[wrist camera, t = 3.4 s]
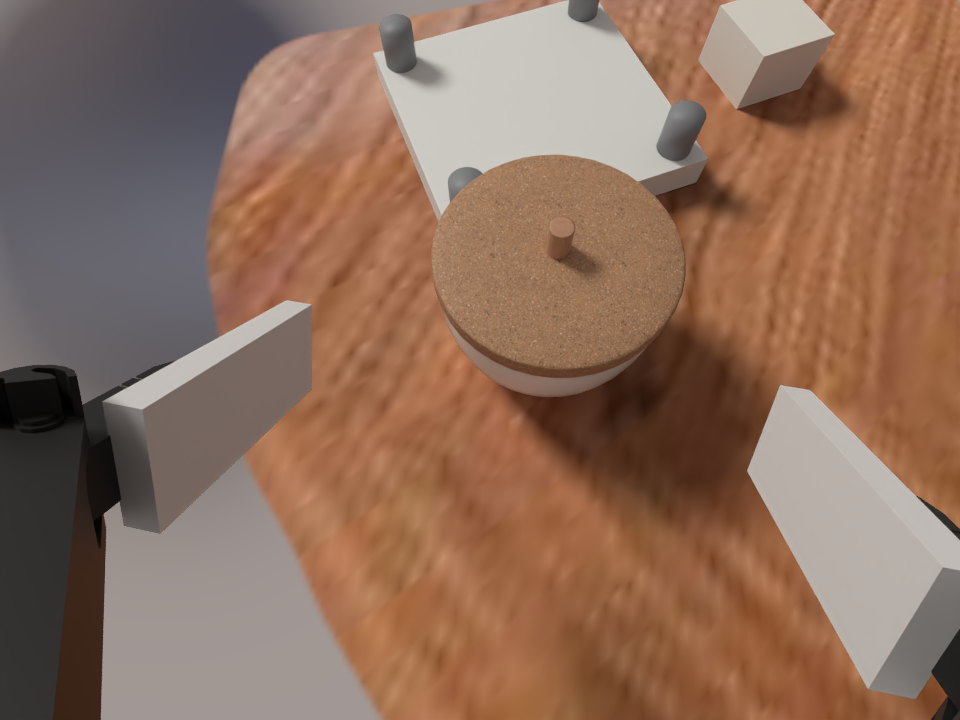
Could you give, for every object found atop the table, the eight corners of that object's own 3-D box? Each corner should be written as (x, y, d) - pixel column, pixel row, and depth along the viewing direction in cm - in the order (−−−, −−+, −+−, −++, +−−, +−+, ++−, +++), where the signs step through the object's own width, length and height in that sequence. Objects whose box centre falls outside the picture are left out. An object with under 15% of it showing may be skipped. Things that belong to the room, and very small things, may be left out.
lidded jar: (453, 245, 32) (439, 119, 23) (634, 253, 31) (689, 128, 22) (436, 418, 28) (410, 344, 19) (644, 430, 27) (715, 360, 18)
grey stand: (696, 182, 33) (725, 125, 29) (454, 260, 31) (449, 212, 27) (588, 21, 39) (599, -46, 35) (379, 79, 37) (365, 16, 33)
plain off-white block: (799, 90, 36) (834, 34, 32) (735, 111, 35) (764, 56, 32) (759, 43, 38) (787, -15, 34) (697, 62, 37) (720, 5, 34)
